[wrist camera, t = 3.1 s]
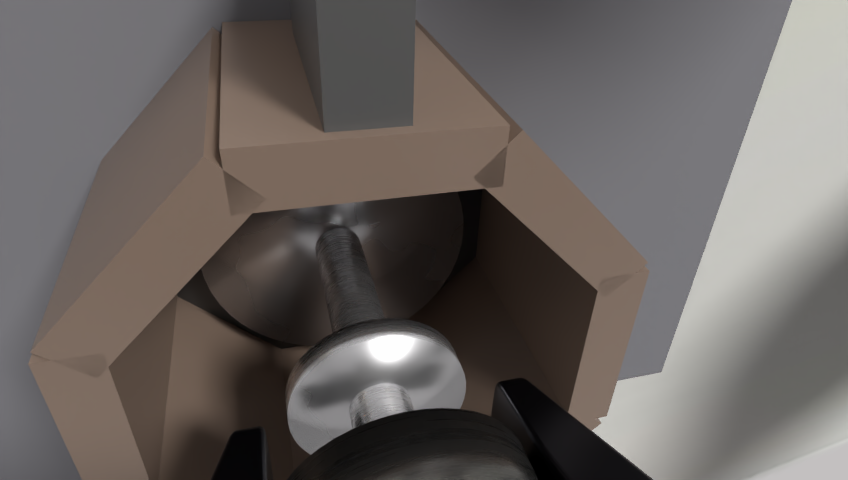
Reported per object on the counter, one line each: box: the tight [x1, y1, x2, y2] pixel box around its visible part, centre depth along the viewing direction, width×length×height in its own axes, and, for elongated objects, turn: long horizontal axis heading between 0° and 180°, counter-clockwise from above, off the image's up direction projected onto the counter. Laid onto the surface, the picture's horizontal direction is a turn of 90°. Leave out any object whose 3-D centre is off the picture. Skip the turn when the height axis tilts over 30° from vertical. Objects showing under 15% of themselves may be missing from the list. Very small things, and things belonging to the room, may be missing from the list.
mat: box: [0, 0, 792, 480], centre depth 13 cm, size 20×14×1 cm
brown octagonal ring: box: [28, 0, 650, 480], centre depth 10 cm, size 8×11×5 cm
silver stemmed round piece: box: [201, 192, 538, 480], centre depth 9 cm, size 5×5×8 cm
